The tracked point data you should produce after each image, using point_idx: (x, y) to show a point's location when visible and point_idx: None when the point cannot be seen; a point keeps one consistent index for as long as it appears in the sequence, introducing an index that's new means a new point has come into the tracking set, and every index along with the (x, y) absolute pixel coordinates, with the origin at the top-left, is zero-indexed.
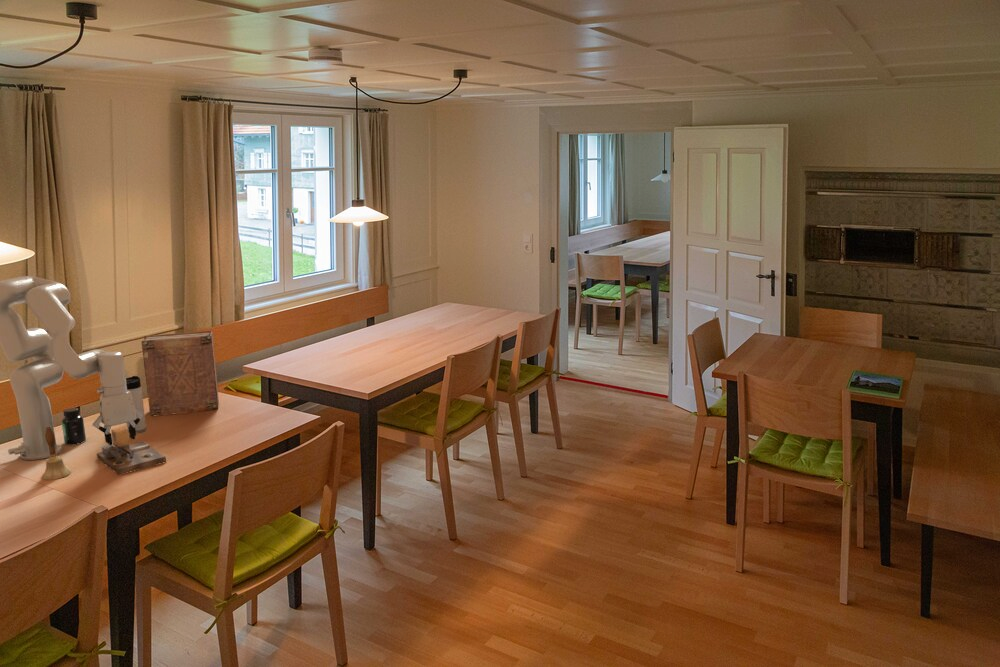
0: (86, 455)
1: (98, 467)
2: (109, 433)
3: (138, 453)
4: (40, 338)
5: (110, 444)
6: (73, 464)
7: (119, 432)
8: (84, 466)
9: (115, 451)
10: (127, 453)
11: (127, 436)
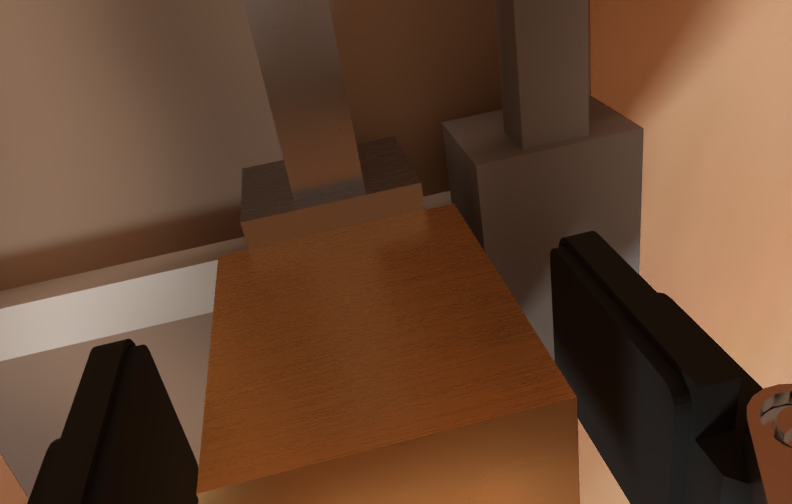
0: (612, 482)
1: (645, 82)
2: (712, 415)
3: (112, 119)
4: None
5: (595, 234)
6: (781, 319)
7: (462, 407)
8: (737, 208)
9: (525, 25)
10: None
11: (248, 347)
